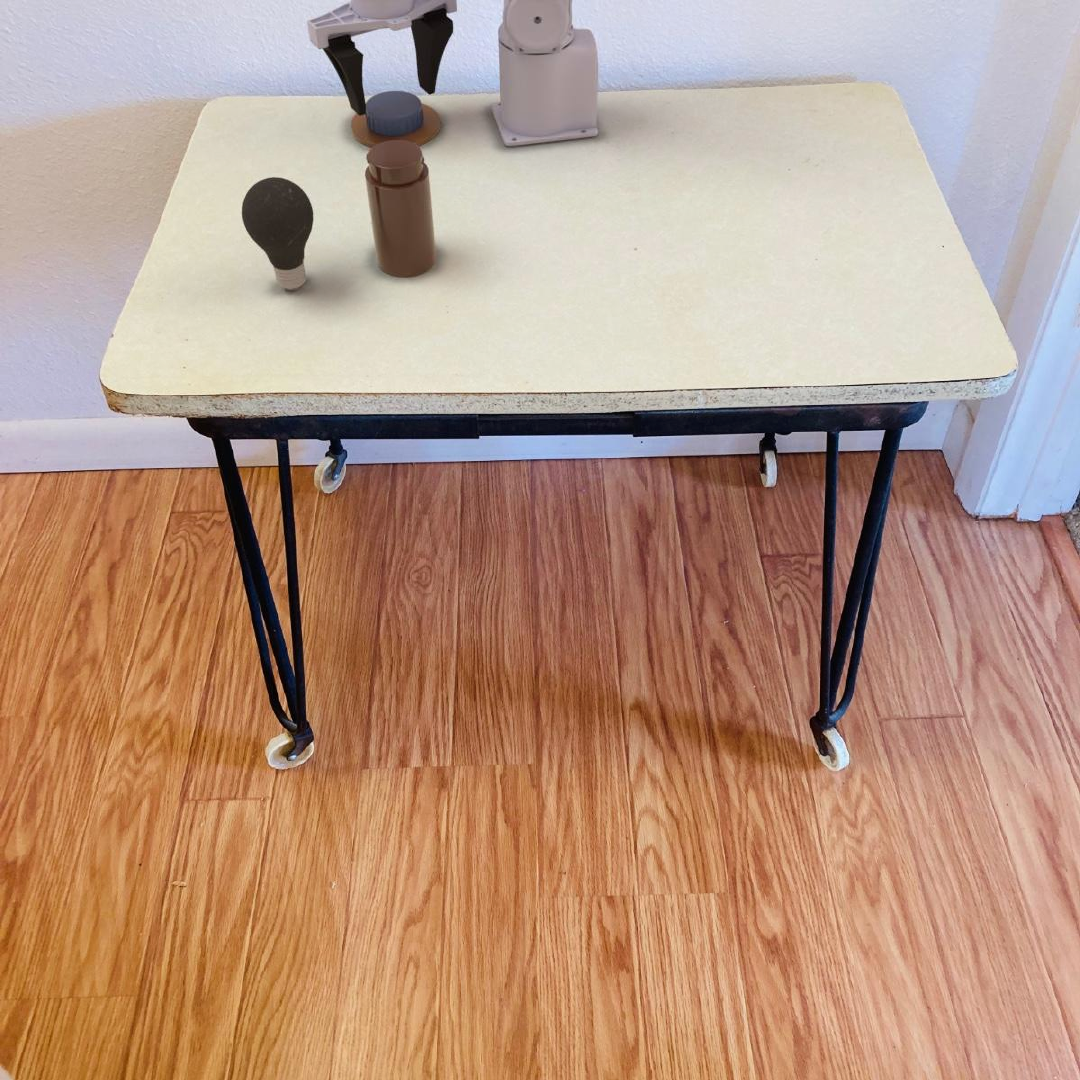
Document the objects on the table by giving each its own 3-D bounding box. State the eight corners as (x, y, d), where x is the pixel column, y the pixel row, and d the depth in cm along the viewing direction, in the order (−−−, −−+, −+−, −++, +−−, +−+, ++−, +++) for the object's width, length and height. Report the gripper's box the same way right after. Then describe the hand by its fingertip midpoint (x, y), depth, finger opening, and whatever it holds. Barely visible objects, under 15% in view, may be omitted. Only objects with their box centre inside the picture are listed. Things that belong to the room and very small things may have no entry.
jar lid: (365, 110, 111) (363, 92, 110) (420, 105, 112) (419, 88, 110) (368, 139, 107) (366, 121, 106) (425, 134, 108) (424, 116, 107)
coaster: (433, 100, 113) (433, 95, 113) (447, 144, 108) (446, 140, 107) (347, 109, 112) (346, 105, 112) (356, 155, 106) (355, 150, 106)
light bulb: (333, 269, 94) (314, 164, 87) (318, 309, 91) (297, 204, 83) (269, 265, 95) (245, 161, 87) (252, 305, 91) (225, 200, 83)
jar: (429, 238, 97) (419, 133, 90) (442, 271, 94) (433, 165, 86) (372, 247, 96) (357, 142, 89) (382, 281, 93) (368, 175, 86)
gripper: (322, -10, 93) (344, 138, 103) (469, -48, 98) (476, 97, 108) (288, -39, 96) (313, 106, 107) (432, -74, 101) (442, 68, 112)
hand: (393, 100), depth 108 cm, fingers open, 7 cm apart
